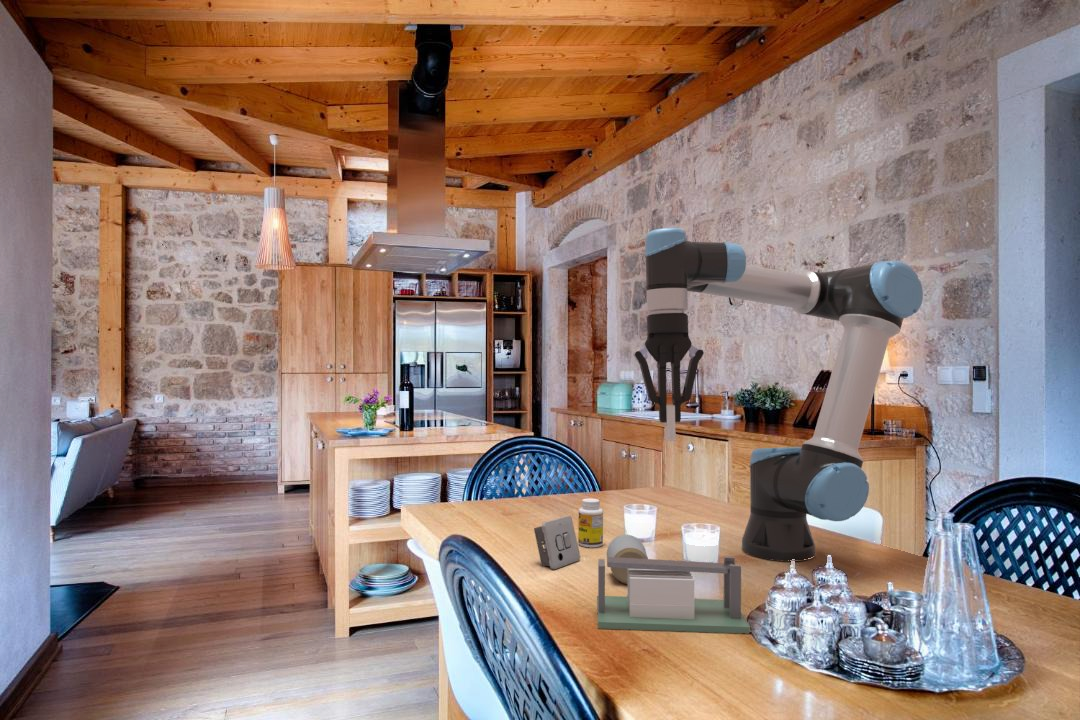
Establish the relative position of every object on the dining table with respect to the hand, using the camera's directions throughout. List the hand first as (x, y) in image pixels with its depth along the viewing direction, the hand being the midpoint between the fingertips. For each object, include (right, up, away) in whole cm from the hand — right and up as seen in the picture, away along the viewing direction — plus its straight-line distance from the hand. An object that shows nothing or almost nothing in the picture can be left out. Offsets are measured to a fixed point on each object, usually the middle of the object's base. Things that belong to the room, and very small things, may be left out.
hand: (670, 439), depth 125 cm
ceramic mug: (-6, -27, +3) cm, 28 cm away
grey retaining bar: (-3, -19, -16) cm, 25 cm away
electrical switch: (-21, -27, +13) cm, 37 cm away
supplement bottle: (-13, -27, +28) cm, 41 cm away
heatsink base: (-3, -27, -16) cm, 31 cm away
